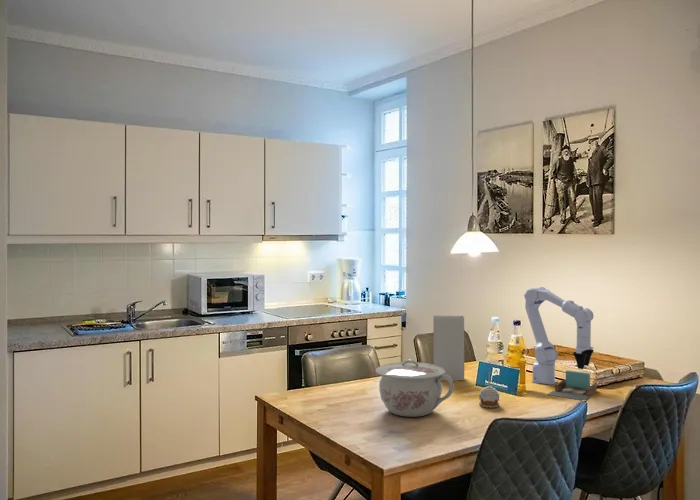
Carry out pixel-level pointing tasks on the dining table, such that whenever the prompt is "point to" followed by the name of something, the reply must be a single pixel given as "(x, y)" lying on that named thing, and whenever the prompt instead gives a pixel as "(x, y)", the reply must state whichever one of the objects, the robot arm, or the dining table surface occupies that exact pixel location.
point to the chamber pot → (412, 387)
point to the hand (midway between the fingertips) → (583, 367)
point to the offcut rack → (589, 390)
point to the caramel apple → (489, 396)
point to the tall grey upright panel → (449, 345)
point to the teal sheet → (577, 379)
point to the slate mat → (568, 395)
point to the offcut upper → (574, 391)
